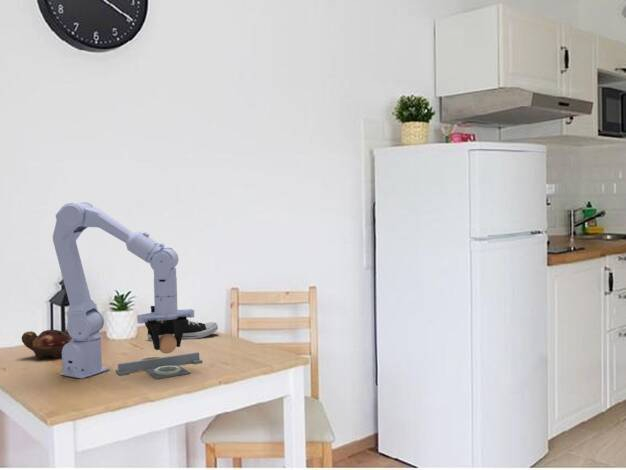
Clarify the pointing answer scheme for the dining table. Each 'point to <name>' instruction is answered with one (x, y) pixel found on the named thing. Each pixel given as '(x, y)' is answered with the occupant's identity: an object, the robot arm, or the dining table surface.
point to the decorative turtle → (46, 342)
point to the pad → (167, 371)
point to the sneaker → (190, 331)
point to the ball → (167, 343)
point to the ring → (150, 358)
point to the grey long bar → (158, 363)
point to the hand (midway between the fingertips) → (167, 347)
